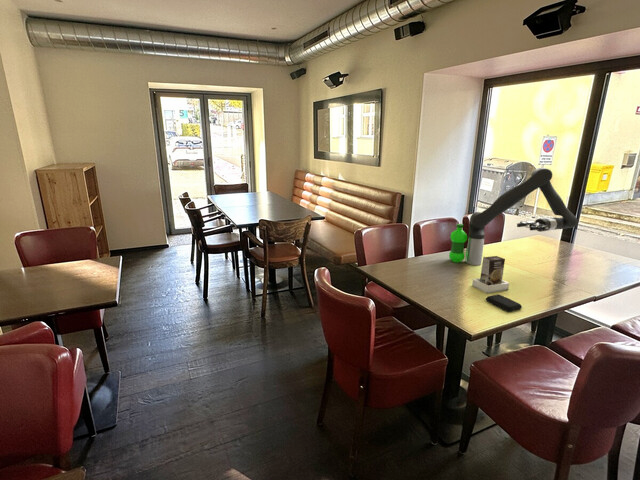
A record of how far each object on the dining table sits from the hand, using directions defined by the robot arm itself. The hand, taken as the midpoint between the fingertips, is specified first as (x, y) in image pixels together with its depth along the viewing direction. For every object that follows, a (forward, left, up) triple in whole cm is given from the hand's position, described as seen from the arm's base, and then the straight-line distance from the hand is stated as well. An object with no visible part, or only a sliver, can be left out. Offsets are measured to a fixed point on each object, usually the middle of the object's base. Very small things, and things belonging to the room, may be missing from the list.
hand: (523, 226), depth 197 cm
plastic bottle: (-35, -14, -30) cm, 48 cm away
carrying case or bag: (+27, -36, -31) cm, 54 cm away
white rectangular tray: (+8, -27, -30) cm, 41 cm away
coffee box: (+8, -27, -29) cm, 41 cm away
